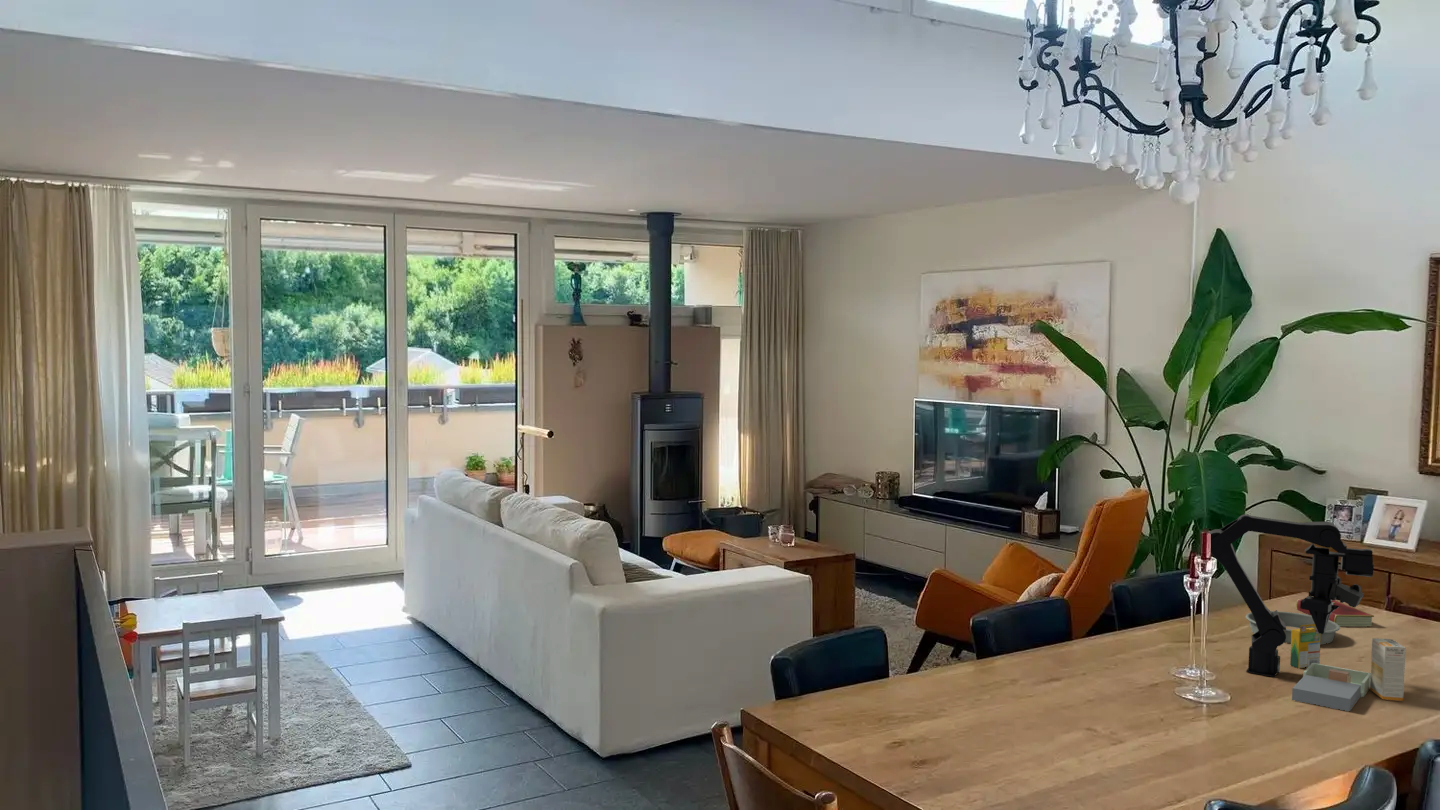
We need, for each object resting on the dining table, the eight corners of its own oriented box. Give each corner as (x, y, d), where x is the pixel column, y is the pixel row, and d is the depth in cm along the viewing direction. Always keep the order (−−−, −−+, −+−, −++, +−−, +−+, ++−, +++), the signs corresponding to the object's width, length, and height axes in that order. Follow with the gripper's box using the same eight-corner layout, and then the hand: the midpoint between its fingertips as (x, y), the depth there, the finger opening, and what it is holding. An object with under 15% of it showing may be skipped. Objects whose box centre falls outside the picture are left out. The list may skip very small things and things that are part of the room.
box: (1302, 686, 269) (1302, 672, 269) (1311, 676, 277) (1312, 662, 277) (1363, 697, 260) (1363, 683, 260) (1371, 687, 269) (1371, 673, 269)
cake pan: (1357, 648, 306) (1358, 632, 306) (1270, 646, 306) (1270, 630, 306) (1311, 625, 330) (1311, 610, 330) (1230, 624, 331) (1230, 609, 330)
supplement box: (1404, 701, 258) (1407, 647, 257) (1382, 700, 259) (1384, 646, 258) (1390, 691, 266) (1393, 638, 265) (1368, 689, 267) (1371, 637, 266)
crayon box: (1310, 663, 289) (1312, 620, 288) (1320, 666, 286) (1322, 623, 286) (1289, 665, 287) (1291, 622, 286) (1298, 668, 284) (1300, 625, 283)
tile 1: (1328, 670, 267) (1330, 668, 269) (1328, 686, 268) (1330, 684, 269) (1347, 674, 265) (1349, 672, 266) (1346, 690, 265) (1348, 688, 266)
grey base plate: (1291, 700, 258) (1292, 688, 258) (1304, 686, 268) (1305, 674, 268) (1349, 711, 250) (1349, 699, 250) (1360, 697, 261) (1360, 684, 261)
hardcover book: (1334, 628, 329) (1335, 614, 328) (1296, 611, 350) (1296, 598, 349) (1373, 628, 329) (1374, 614, 329) (1332, 611, 350) (1333, 598, 350)
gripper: (1352, 583, 261) (1348, 647, 262) (1369, 572, 275) (1366, 632, 275) (1301, 575, 268) (1297, 637, 269) (1320, 565, 282) (1317, 624, 283)
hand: (1321, 633), depth 274 cm, fingers closed
